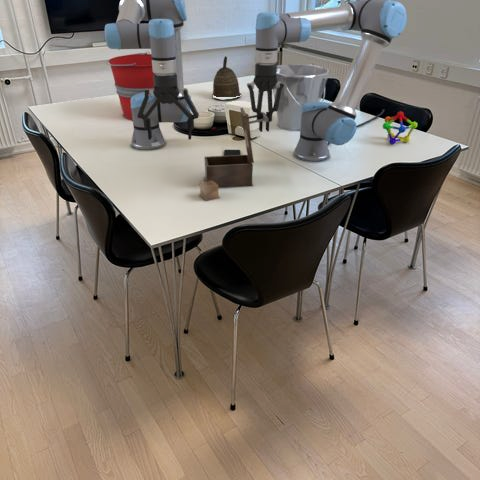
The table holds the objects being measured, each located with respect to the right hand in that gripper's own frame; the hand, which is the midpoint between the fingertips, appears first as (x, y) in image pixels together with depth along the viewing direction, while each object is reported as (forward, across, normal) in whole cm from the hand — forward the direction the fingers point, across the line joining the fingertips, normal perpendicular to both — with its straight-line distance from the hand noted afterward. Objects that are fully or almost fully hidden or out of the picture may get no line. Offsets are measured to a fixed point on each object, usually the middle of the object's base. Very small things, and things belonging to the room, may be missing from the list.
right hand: (264, 130), depth 164 cm
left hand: (-1, -34, -8) cm, 35 cm away
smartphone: (+20, -9, +25) cm, 33 cm away
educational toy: (+20, +71, +33) cm, 81 cm away
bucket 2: (+20, +30, +66) cm, 75 cm away
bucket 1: (+20, -49, +97) cm, 110 cm away
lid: (+2, -7, 0) cm, 7 cm away
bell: (+20, +1, +128) cm, 129 cm away
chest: (+20, -14, 0) cm, 24 cm away
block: (+20, -22, -12) cm, 32 cm away
